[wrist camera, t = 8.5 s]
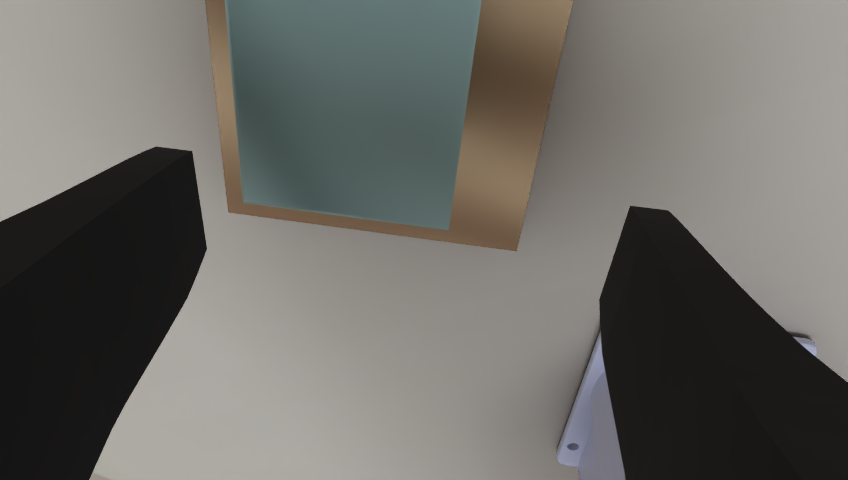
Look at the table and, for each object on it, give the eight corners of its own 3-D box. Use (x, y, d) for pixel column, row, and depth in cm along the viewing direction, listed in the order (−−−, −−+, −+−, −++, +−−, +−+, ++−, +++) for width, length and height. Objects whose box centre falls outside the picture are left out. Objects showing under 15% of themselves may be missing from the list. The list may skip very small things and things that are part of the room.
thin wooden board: (516, 230, 24) (516, 251, 23) (239, 193, 24) (228, 212, 23) (624, -261, 15) (632, -259, 14) (191, -310, 15) (170, -313, 14)
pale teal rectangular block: (460, 132, 20) (448, 230, 16) (294, 111, 20) (242, 202, 16) (491, -86, 16) (485, -28, 13) (288, -111, 17) (219, -61, 13)
